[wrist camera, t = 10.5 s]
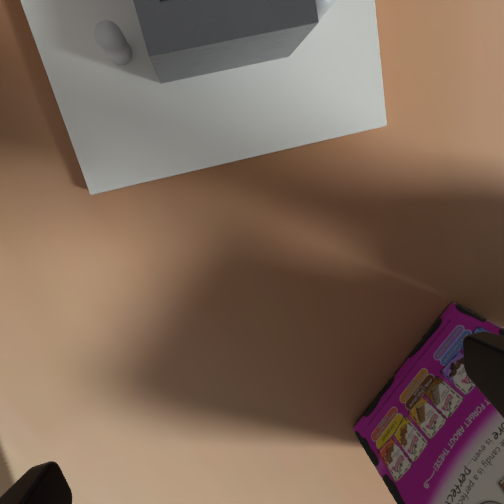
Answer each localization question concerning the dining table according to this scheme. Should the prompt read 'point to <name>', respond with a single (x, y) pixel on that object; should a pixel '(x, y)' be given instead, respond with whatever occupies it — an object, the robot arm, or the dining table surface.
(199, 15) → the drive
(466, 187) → the dining table surface
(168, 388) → the dining table surface
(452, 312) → the candy bar box
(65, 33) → the tray
